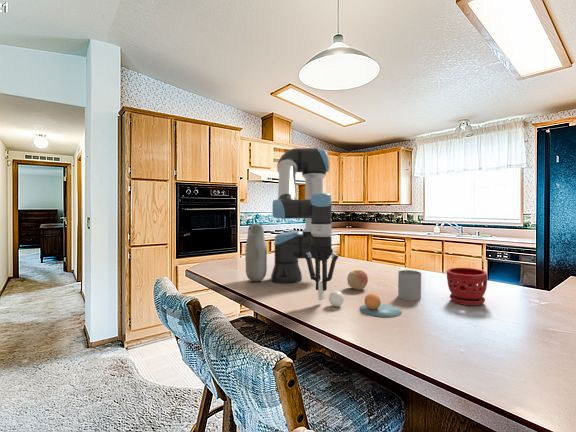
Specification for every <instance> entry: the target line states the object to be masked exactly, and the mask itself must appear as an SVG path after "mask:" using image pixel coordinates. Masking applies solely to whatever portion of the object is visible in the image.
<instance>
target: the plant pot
mask: <svg viewBox="0 0 576 432" xmlns="http://www.w3.org/2000/svg"><path fill="white" fill-rule="evenodd" d="M446 281H447V286H448V289H449V292H450V294H449V298H450V299H451V300H452V302H454V303H456V304H460V305H465V306H472V307H473V306H474V307H476V306H480V305H483V304H484V303H485V301H486V298H485V297H484V296H485V294H486V291H487V287H488V273H487V272H486V271H485V270H482V269H478V268H472V267H451V268H449V269H448V268H447V270H446Z"/></svg>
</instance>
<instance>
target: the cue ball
mask: <svg viewBox="0 0 576 432" xmlns="http://www.w3.org/2000/svg"><path fill="white" fill-rule="evenodd" d="M344 301H345V296H344V294H343V293H342V292H341V291H339V290H333V291H332V292H331V293H329V296H328V302H329V303H330V305H331V306H333V307H335V308H337V307H340V306H342V305H343V304H344Z"/></svg>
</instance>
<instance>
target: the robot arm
mask: <svg viewBox="0 0 576 432" xmlns="http://www.w3.org/2000/svg"><path fill="white" fill-rule="evenodd" d="M329 161H330V160H329V155H328V152H327V150H326V149H325V148H321V147H320V148H319V147H313V148H311V147H309V148H306V147H305V148H304V147H303V148H296V147H295V148H292V149H289V150H287V151H285V152H284V153H283V154H282V155H281V156H280V157H279V159H278V161H277V166H276V167H277V168H276V169H277V172H278V188H277V190H278V193H277V195H278V196H277V199H273V201H272V206H271V207H272V208H271V209H272V217H273V218H275V219H283V220H284V219H305V226H304V227H305V228H303V230H302V234H299V232H298V231H288V232H282V233H279V234H278V233H277V234H276V235H275V236H274V244H273V245H274V265H273V268H272V272H271V274H270V280H271V282H275V283H279V284H291V283H292V284H293V283H298V282H301V281H302V279H303V276H302V275H303V274H302V271H301V269H300V265H299V259H305V261H306V264H307V268H308V274H309V277H310V280H311V281H312V280H313V281H314V282H315V290H316V291H317V294H318V296H317V297H318V301H323V300H324V299H325V292H326V291H327V289H328V282H330V281H331V280H332V279H333V274H334V271H335V266H336V264H337V260H338V259H339V257H340V255H339V254H336V253H335V252H334V251H333V246H332V236H331V235H332V232H333V231H332V204H333V202H332V194H330V193H327V192H325V193H324V189H323V188H324V187H323V186H324V185H323V184H324V182H323V181H324V178H325V177H326V175H327V174H326V173H329V171H330V167H329V166H330V162H329ZM297 173H301V175H302V177H303V179H304V180H305V181H304V182H305V183H304V186H305V189H304V191H305V199H300V198H299V199H297V194H296V193H297V190H296V189H297V188H296V187H297V183H296V174H297ZM330 257H331V261H330V266H329V271H328V260H329V258H330ZM312 259H314V263H315V268H314V264H313V261H312ZM321 264H322V265H321ZM321 270H322V271H321ZM321 272H322V275H321ZM321 277H322V279H321Z"/></svg>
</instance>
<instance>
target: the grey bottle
mask: <svg viewBox="0 0 576 432" xmlns="http://www.w3.org/2000/svg"><path fill="white" fill-rule="evenodd" d="M244 248H245V249H244V250H245V252H244V254H245V255H244V257H245V258H244V259H245V274H246V277H247V279H248V280H250V282H251V281H252V282H254V283H255V282H261V281H263V280H264V279H265V277H266V275H267V270H268V269H267V268H268V267H267V265H268V264H267V262H268V261H267V259H268V257H267V255H268V254H267V253H268V250H267V243H266V239H265V231H264V226H263V225H262V224H261V223H256V222H255V223H252V224H250V225H249V227H248V230H247V238H246V243H245V247H244Z"/></svg>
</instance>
